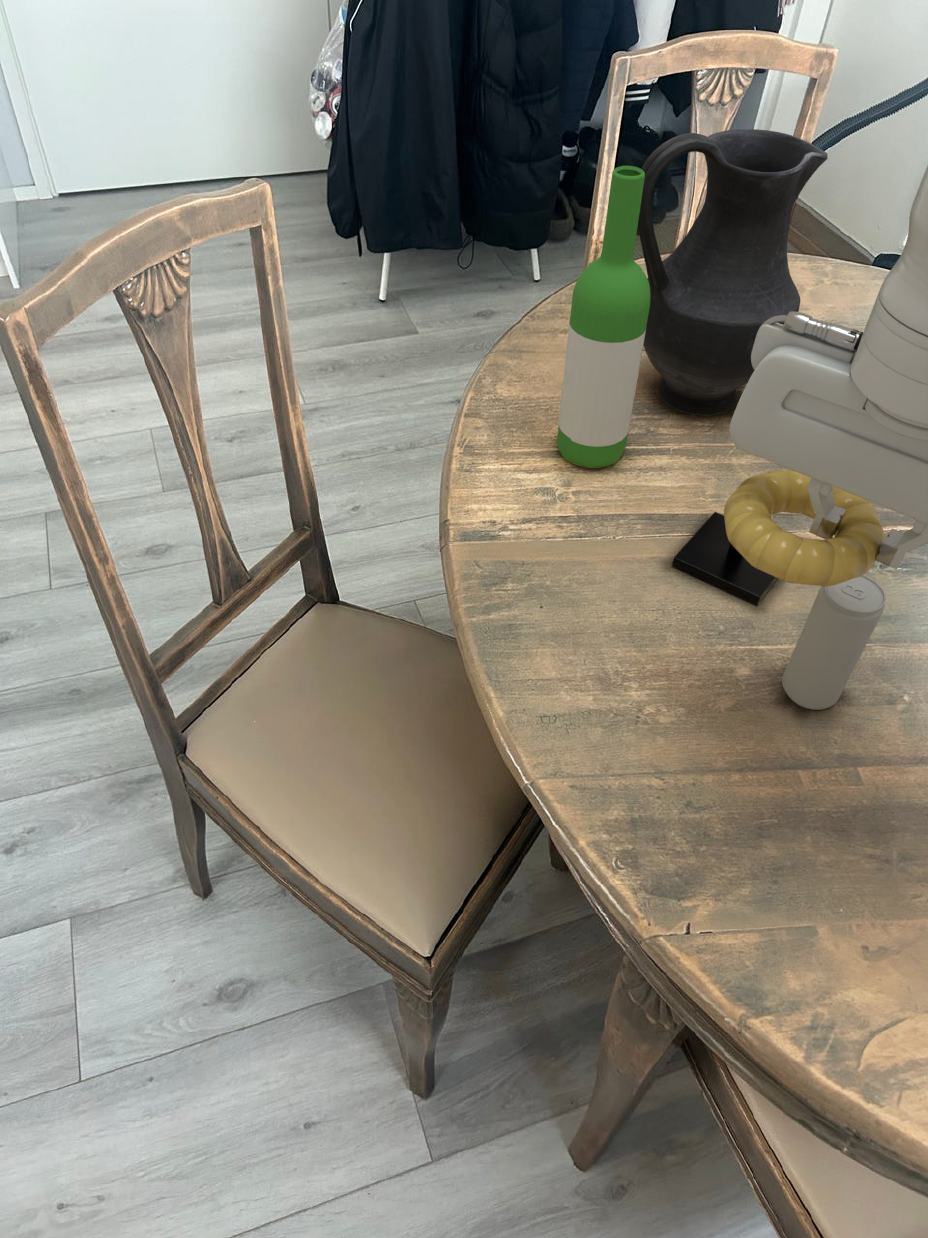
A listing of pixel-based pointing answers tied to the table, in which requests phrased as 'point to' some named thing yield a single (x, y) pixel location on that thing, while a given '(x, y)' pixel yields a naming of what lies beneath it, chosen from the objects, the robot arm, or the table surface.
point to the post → (722, 563)
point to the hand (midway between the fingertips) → (855, 546)
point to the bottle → (606, 336)
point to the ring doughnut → (790, 552)
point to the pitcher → (722, 263)
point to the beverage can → (833, 641)
